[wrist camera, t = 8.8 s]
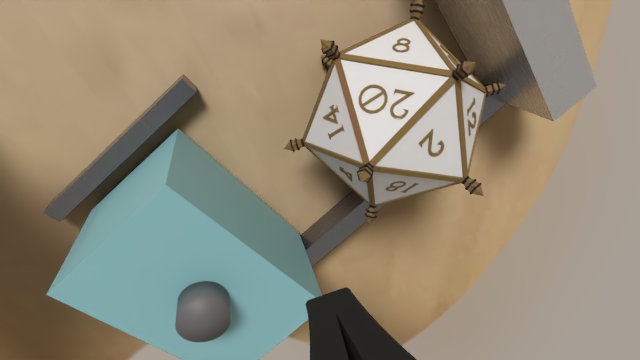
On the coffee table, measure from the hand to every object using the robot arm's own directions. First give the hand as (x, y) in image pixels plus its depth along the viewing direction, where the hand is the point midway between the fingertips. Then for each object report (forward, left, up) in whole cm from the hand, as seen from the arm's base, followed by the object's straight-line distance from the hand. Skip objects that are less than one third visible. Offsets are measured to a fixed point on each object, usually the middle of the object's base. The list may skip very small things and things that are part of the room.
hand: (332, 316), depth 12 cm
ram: (-5, +1, -10) cm, 11 cm away
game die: (+6, 0, -11) cm, 12 cm away
